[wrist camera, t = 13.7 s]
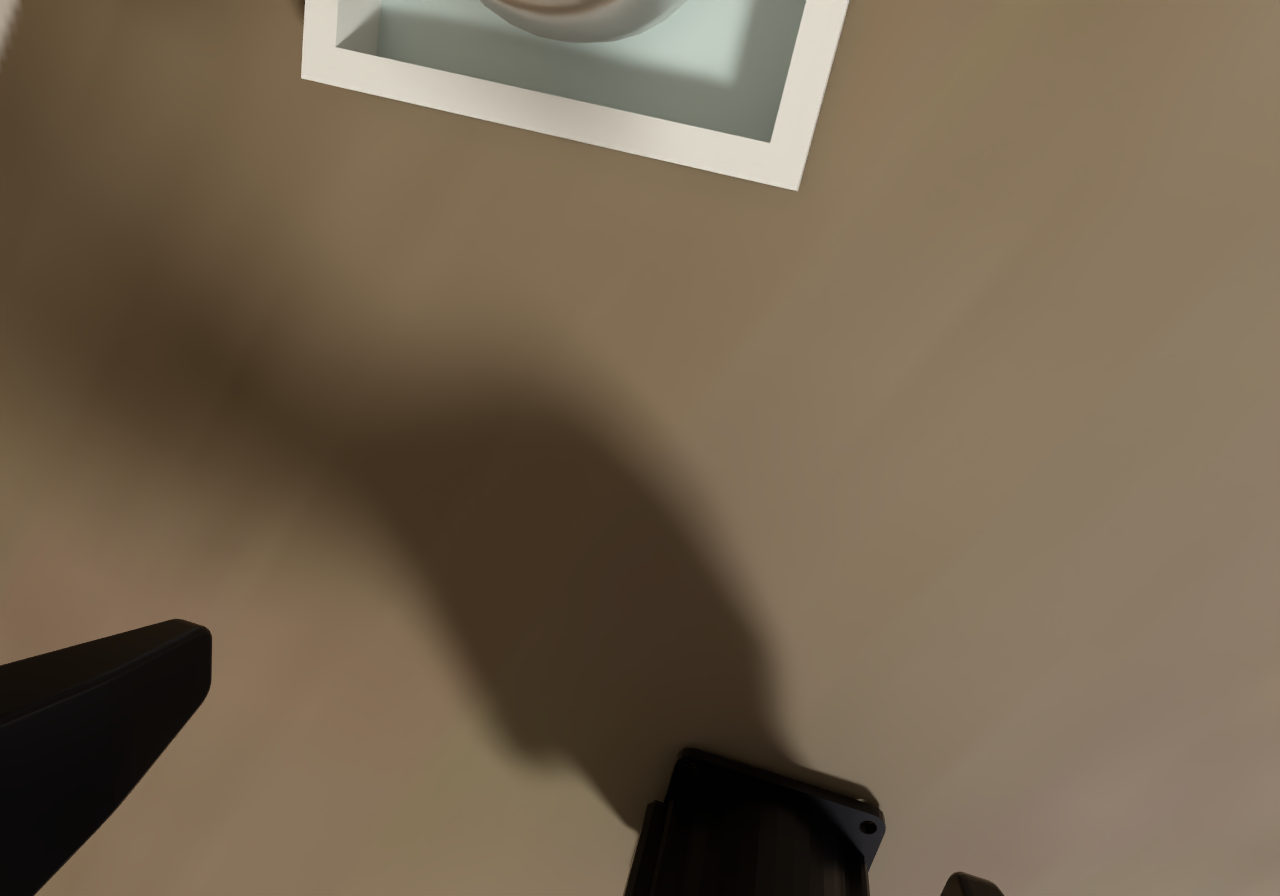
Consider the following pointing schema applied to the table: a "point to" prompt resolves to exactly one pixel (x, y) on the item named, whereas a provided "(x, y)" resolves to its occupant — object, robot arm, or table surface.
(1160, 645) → the table surface
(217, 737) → the table surface
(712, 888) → the robot arm
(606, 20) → the plastic bottle
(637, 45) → the tray
